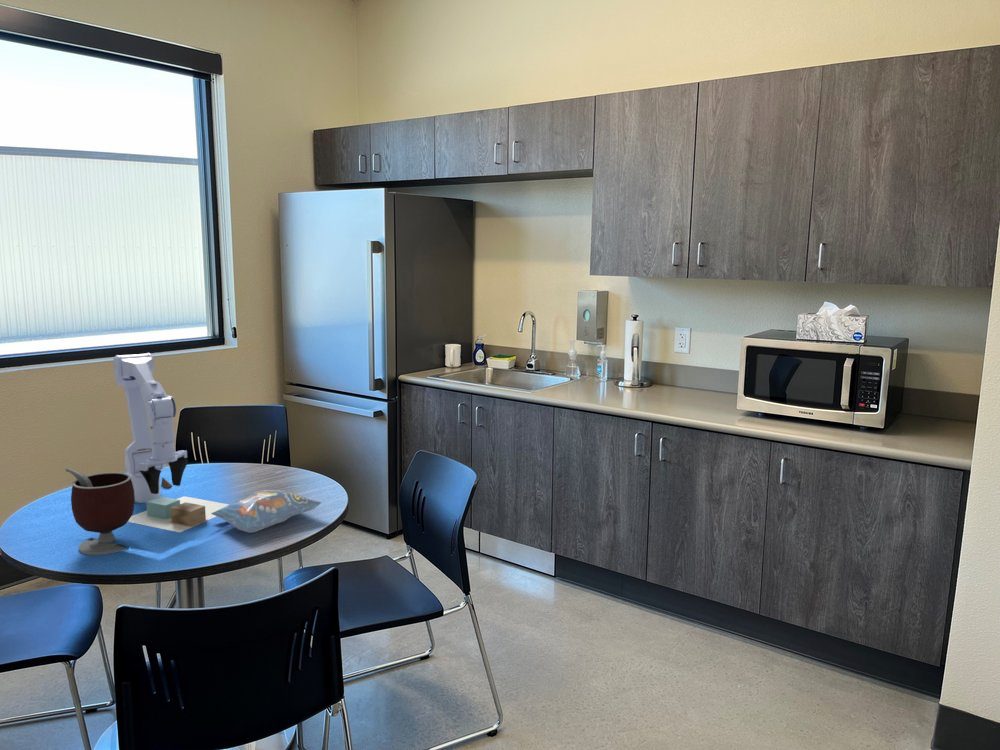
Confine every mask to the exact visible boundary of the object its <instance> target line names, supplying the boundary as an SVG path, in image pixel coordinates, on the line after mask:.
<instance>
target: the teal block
mask: <svg viewBox="0 0 1000 750" xmlns="http://www.w3.org/2000/svg"><path fill="white" fill-rule="evenodd" d="M145 504H146V510H147V516H151V517H156V518H161V519H169V518H171V517H172V515H171V508H172V507H175V506H177V505H180V500H178V498H172V497H166V496H161V497H158V498H155V499H153V500H150V501H147V502H146V503H145Z"/></svg>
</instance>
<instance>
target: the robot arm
mask: <svg viewBox="0 0 1000 750" xmlns="http://www.w3.org/2000/svg"><path fill="white" fill-rule="evenodd" d="M112 362H113V363H112V364H113V365H112V366H113V373H114V379H115V381H116V385H118V386H120V387H122V388H123V391H124V394H125V400H126V405H127V410H128V411H127V412H128V417H129V423H130V428H131V435H132V442H131V443H130V444H129V445H128V446H127V447H126V448H125V450H124V452H123V453H124V466H125V471H126V474H129V475H130V476H131V481H132V484H133V488H134V496H135V503H138V504H139V503H140V504H141V503H142V504H143V503H145V504H146V502H147V501H150V500H153V499H155V498H158V497H162V493H161V478H160V477H161V476H160V475H161V473H162V470H164V468H165V467H166V464H168V466H169V469H170V474H171V475H170V476H171V482H172V483H171V484H172V486H176V487H179V486H181V484H182V477H183V475H184V472H185V469H186V467H187V465H188V464H189V459H187V458H188V451H187V450H183V449H181V450H177V451H176V446H175V445H176V444H175V442H176V441H175V427H174V426H175V425H174V418H175V417H176V415H177V406H176V405H177V404H176V401H175V398H174V397H173V396H172V395H169V394H167V392H166V391H165V389H164V388H163V386H162V384H161V383H160V382H159V381H157V380H155V378H154V375H153V373H154V371H155V359H154V357H153V355H152V354H151V353H150V352H146V353H139V354H121V355H119V354H116V355H115V356H114V358H113V361H112Z"/></svg>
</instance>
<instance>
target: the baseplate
mask: <svg viewBox="0 0 1000 750" xmlns="http://www.w3.org/2000/svg"><path fill="white" fill-rule="evenodd" d="M177 499H178V500H180V504H182V503H185V502H187V503H192V504H198V505H203V506H205V513H206V520H205V521H202V522H200V523H198V524H195V525H193V526H189V525H184V524H179V523H174V522H172V517H171V518H169V519H161V518H156V517H151V516H147V509H146V510H144V511H142V512H139V513H137V514H134V515H133V514H132V516H131V518H130V519H129V521H128V522H127V523H133V524H137V525H142V526H146V527H151V528H156V529H161V530H167V531H170V532H176V533H182V532H184V531H186V530H189V529H192V528H194V527H196V526H198V525H200V524H202V523H205V522H207V521H209V520H212V519H213V518H214V519H215V518H216V517H217V516H215V515H212V514H211V513H213V512H215V511H217V510H220V509H222V508H224V507H226V506H228V505H230V504H229V503H225V502H224V503H222V502H219V501H218V502H217V501H212V500H207V499H202V498H201V499H200V498H196V497H190V496H184V495H183V496H181V497H178V498H177Z"/></svg>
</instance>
